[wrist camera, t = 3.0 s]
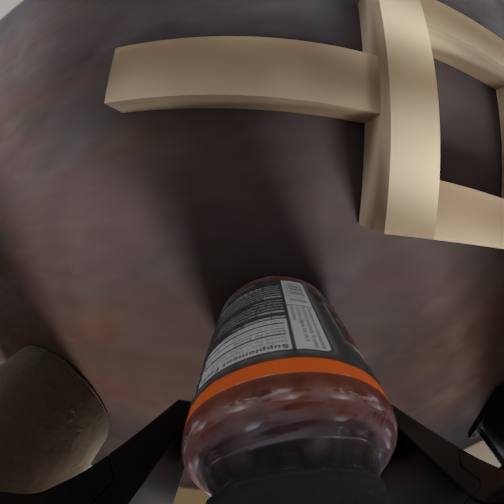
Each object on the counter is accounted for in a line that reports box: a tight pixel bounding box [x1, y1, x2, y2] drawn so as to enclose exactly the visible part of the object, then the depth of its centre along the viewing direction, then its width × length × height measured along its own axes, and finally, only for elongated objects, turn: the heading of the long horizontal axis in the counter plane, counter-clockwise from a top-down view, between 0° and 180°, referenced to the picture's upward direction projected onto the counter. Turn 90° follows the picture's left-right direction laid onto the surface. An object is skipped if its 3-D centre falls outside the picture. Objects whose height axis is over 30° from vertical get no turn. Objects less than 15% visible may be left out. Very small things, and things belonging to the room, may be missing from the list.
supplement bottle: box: [181, 276, 398, 504], centre depth 9 cm, size 6×6×11 cm
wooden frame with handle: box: [104, 0, 504, 249], centre depth 10 cm, size 13×25×3 cm, turn 86°
